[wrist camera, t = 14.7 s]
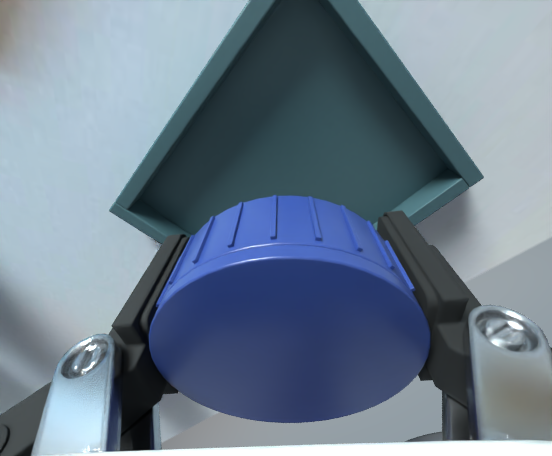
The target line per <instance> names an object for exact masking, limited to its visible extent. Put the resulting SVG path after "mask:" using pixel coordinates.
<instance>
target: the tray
mask: <svg viewBox="0 0 552 456" xmlns="http://www.w3.org/2000/svg"><path fill="white" fill-rule="evenodd" d="M483 178H484V176H483V175H482V173H481V172H480V171H479V169H478V168H477V166H476V165H475V164H474V162H473V161H472V159H471V158H470V157H469V155H468V154H467V152H466V151H465V150H464V148H463V147H462V145H461V144H460V143H459V141H458V140H457V138H456V137H455V136H454V134H453V133H452V132H451V130H450V129H449V127H448V126H447V125H446V123H445V122H444V120H443V119H442V118H441V116H440V115H439V113H438V112H437V111H436V109H435V108H434V106H433V105H432V104H431V102H430V101H429V99H428V98H427V97H426V95H425V94H424V92H423V91H422V90H421V88H420V87H419V85H418V84H417V83H416V81H415V80H414V78H413V77H412V76H411V74H410V73H409V71H408V70H407V69H406V67H405V66H404V64H403V63H402V62H401V60H400V59H399V57H398V56H397V55H396V53H395V52H394V50H393V49H392V48H391V46H390V45H389V43H388V42H387V41H386V39H385V38H384V36H383V35H382V34H381V32H380V31H379V29H378V28H377V27H376V25H375V24H374V22H373V21H372V20H371V18H370V17H369V16H368V14H367V13H366V11H365V10H364V9H363V7H362V6H361V4H360V3H359V2H358V0H249V1H248V3H247V4H246V6H245V7H244V9H243V10H242V12H241V13H240V15H239V16H238V18H237V19H236V21H235V22H234V24H233V25H232V27H231V28H230V30H229V31H228V33H227V34H226V36H225V37H224V39H223V40H222V42H221V43H220V45H219V46H218V48H217V49H216V51H215V52H214V54H213V55H212V57H211V58H210V60H209V61H208V63H207V64H206V66H205V67H204V69H203V70H202V72H201V73H200V75H199V76H198V78H197V79H196V81H195V82H194V84H193V85H192V87H191V88H190V90H189V91H188V93H187V94H186V96H185V97H184V99H183V100H182V102H181V103H180V105H179V106H178V108H177V109H176V111H175V112H174V114H173V115H172V117H171V118H170V120H169V121H168V123H167V124H166V126H165V127H164V129H163V130H162V132H161V133H160V135H159V136H158V138H157V139H156V141H155V142H154V144H153V145H152V147H151V148H150V150H149V151H148V153H147V154H146V156H145V157H144V159H143V160H142V162H141V163H140V165H139V166H138V168H137V169H136V171H135V172H134V174H133V175H132V177H131V178H130V180H129V181H128V183H127V184H126V186H125V187H124V189H123V190H122V192H121V193H120V195H119V196H118V198H117V199H116V201H115V202H114V204H113V205H112V207H111V208H110V210H109V211H110V212H111V213H113V214H115V215H116V216H118V217H119V218H121V219H123V220H124V221H126V222H127V223H129V224H130V225H132V226H134V227H135V228H137V229H138V230H140V231H142V232H143V233H145V234H146V235H148V236H150V237H151V238H153V239H154V240H156V241H157V242H159V243H161V244H163V242H164V241H165V239H166V238H167V236H169V235H177V234H185V235H186V236H187V237H191V235H194V236H195V234H196V233H197V232H198V231H199V230H200V229H201V228H202V227H203V226H204V225H205V224H206V223H208V222H209V220H210V218H211V217H212V216H214V217H215V216H217V215H219V214H220V213H222V212H224V211H225V210H227V209H229V208H232V207H234V206H237V205H238V204H239V203H240V202H243V203H244V202H248V201H252V200H255V199H259V198H266V197H272V196H273V195H277V196H302V197H308V196H312V197H313V198H316V199H320V200H325V201H328V202H331V203H334V204H337V205H340V206H341V205H343V206H345V207H346V209H348V210H350V211H352V212H354V213H356V214H357V215H359V216H360V217H361V218H363V219H364V220H366V221H368V220H369V221H370V222H371V223H372V224H373V226H374V228H375V230H377V224H378V218H379V217H382V216H383V214H384V213H385V212H391V211H400V210H401V211H403V212H404V213H405V214H406V216H407V217H408V218H409V220H410V221H411V222H412V224H413V225H414V226H415V225H416V224H418V223H419V222H421V221H422V220H424V219H425V218H427V217H428V216H430V215H431V214H432V213H434V212H435V211H437V210H438V209H440V208H441V207H443V206H444V205H445V204H447V203H448V202H450V201H451V200H453V199H454V198H456V197H457V196H459V195H460V194H461V193H463V192H464V191H466V190H467V189H469V187H471V186H473V185H474V184H476V183H477V182H478V181H480V180H481V179H483Z"/></svg>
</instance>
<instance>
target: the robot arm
mask: <svg viewBox="0 0 552 456" xmlns="http://www.w3.org/2000/svg"><path fill="white" fill-rule="evenodd" d="M377 232H378V233H379V234H380V236H381V237H382V238H383V240H384V241H387V240H388V242H389V244H390V246H391V247H392V249H393V251H394V253H395V254H396V256H397V258H398V260H399V261H400V263H401V265H402V267H403V268H404V270H405V272H406V274H407V276H408V277H409V279H410V281H411V283H412V284H413V286H414V288H415V291H413V294H414V296H415V298H416V300H417V301H418V303H419V305H420V307H421V309H422V311H423V313H424V315H425V317H426V319H427V321H428V325H429V329H430V350H429V354H428V358H427V360H426V362H425V364H424V366H423V368H422V369H421V371H420V372H419V373H418V376H419V378H420V380H421V381H424V380H433V382H434V384H435V386H436V387H437V388H439V389H440V390H442V441H424V442H388V443H351V444H319V445H318V444H317V445H286V446H257V447H256V446H255V447H226V448H196V449H169V450H162V447H161V431H160V416H159V401H160V400H161V398H162V395H163V394H174V393H178V390H177V389H175V388H174V387H173V386H172V385H171V384H170V383H169V382H168V381H167V380H166V379H165V378H164V377H163V376H162V374H161V373H160V372H159V370H158V369H157V367H156V365H155V363H154V361H153V359H152V356H151V352H150V349H149V332H150V326H151V323H152V320H153V318H154V316H155V313H156V311H157V309H158V307H156V304H157V302H158V300H159V298H160V296H161V294H162V292H163V290H164V288H165V286H166V284H167V282H168V280H169V278H170V276H171V274H172V272H173V270H174V268H175V266H176V264H177V261H178V259H179V257H180V256H181V255H182V253H183V251H184V249H185V247H186V245H187V243H188V241H189V239H190V237H187V236H186V235H185V234H177V235H169V236H167V238H166V239H165V241H164V242H163V244H162V246H161V247H160V249H159V250H158V252H157V254H156V255H155V257H154V258H153V260H152V262H151V263H150V265H149V266H148V268H147V270H146V271H145V273H144V274H143V276H142V278H141V279H140V281H139V283H138V284H137V286H136V287H135V289H134V291H133V292H132V294H131V295H130V297H129V299H128V300H127V302H126V303H125V305H124V307H123V308H122V310H121V311H120V313H119V315H118V316H117V318H116V319H115V321H114V323H113V324H112V327H113V328H112V330H111V332H110V333H109V335H107V334H96V335H93V336H90V337H88V338H86V339H84V340H82V341H80V342H79V343H77V344H76V345H74V346H73V347H72V348H71V349H70V350H69V351H67V352H66V353H65V354H64V356H63V357H62V358H61V360H60V361H59V362H58V365H57V367H56V369H55V372H54V375H53V379H52V381H51V382H50V383H48V384H47V385H45V386H44V387H42V388H41V389H39V390H38V391H36V392H35V393H33V394H32V395H30V396H29V397H27V398H26V399H24V400H23V401H21V402H20V403H18V404H17V405H15V406H14V407H12V408H10V409H9V410H7V411H6V412H4V413H3V414H1V415H0V456H552V348H551V347H550V346H549V343H548V340H547V338H546V336H545V334H544V333H543V331H542V330H541V329H540V328H539V327H538V326H537V325H536V324H535V323H534V322H533V321H532V320H530V319H529V318H527V317H526V316H525V315H523V314H521V313H519V312H516V311H514V310H512V309H509V308H506V307H502V306H496V305H483V306H482V305H481V304H480V303H479V302H478V300H477V299H476V298H475V296H474V295H473V294H472V293H471V291H470V290H469V289H468V288H467V286H466V285H465V284H464V282H463V281H462V280H461V279H460V277H459V276H458V275H457V274H456V272H455V271H454V270H453V268H452V267H451V266H450V265H449V263H448V262H447V261H446V260H445V258H444V257H443V256H442V255H441V253H440V252H439V251H438V249H437V248H436V247H435V246H433V245H428V243H427V242H426V241H425V239H424V238H423V237H422V236H421V234H420V233H419V232H418V230H417V229H416V228H415V226H414V225H413V224H412V222H411V221H410V220H409V218H408V217H407V216H406V214H405V213H404V212H403V211H401V210H400V211H391V212H385V213H384V214H383V216H382V217H379V218H378V224H377Z"/></svg>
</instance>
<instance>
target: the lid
mask: <svg viewBox="0 0 552 456" xmlns="http://www.w3.org/2000/svg"><path fill="white" fill-rule="evenodd" d="M413 291H415V288H414V286H413V284H412V283H411V281H410V279H409V277H408V276H407V274H406V272H405V270H404V268H403V267H402V265H401V263H400V261H399V260H398V258H397V256H396V254H395V253H394V251H393V249H392V247H391V246H390V244H389V242H388V240H387V241H384V240H383V238H382V237H381V236H380V234H379V233H378V232H377V230H375V228H374V226H373V224H372V223H371V222H370V221H369V220H368V221H366V220H364V219H363V218H361V217H360V216H359V215H357V214H356V213H354V212H352V211H350V210H348V209H346V207H345V206H343V205H341V206H340V205H337V204H334V203H331V202H328V201H325V200H320V199H316V198H313V197H312V196H308V197H302V196H277V195H273V196H272V197H266V198H259V199H255V200H252V201H248V202H244V203H243V202H240V203H239V204H238V205H237V206H234V207H232V208H229V209H227V210H225V211H224V212H222V213H220V214H219V215H217V216H215V217H214V216H212V217H211V218H210V220H209V222H208V223H206V224H205V225H204V226H203V227H202V228H201V229H200V230H199V231H198V232H197V233H196V234H195V236H194V235H191V237H190V239H189V241H188V243H187V245H186V247H185V249H184V251H183V253H182V255H181V256H180V257H179V259H178V261H177V264H176V266H175V268H174V270H173V272H172V274H171V276H170V278H169V280H168V282H167V284H166V286H165V288H164V290H163V292H162V294H161V296H160V298H159V300H158V302H157V304H156V307H158V309H157V311H156V313H155V316H154V318H153V320H152V323H151V326H150V332H149V349H150V352H151V356H152V359H153V361H154V363H155V365H156V367H157V369H158V370H159V372H160V373H161V374H162V376H163V377H164V378H165V379H166V380H167V381H168V382H169V383H170V384H171V385H172V386H173V387H174V388H175V389H177V390H178V391H179V392H181V393H182V394H183V395H185V396H187V397H188V398H190V399H191V400H193V401H195V402H197V403H199V404H201V405H203V406H206V407H208V408H211V409H213V410H215V411H219V412H222V413H225V414H228V415H232V416H236V417H240V418H245V419H250V420H257V421H265V422H278V423H301V422H314V421H322V420H329V419H334V418H339V417H343V416H347V415H351V414H354V413H357V412H361V411H363V410H366V409H369V408H371V407H374V406H376V405H378V404H380V403H382V402H384V401H386V400H388V399H389V398H391V397H392V396H394V395H396V394H397V393H399V392H400V391H401V390H403V389H404V388H405V387H406V386H407V385H409V384H410V382H411V381H412V380H413V379H414V378H415V377H416V376H417V375H418V373H419V372H420V371H421V369H422V368H423V366H424V364H425V362H426V360H427V358H428V354H429V350H430V329H429V325H428V321H427V319H426V317H425V315H424V313H423V311H422V309H421V307H420V305H419V303H418V301H417V300H416V298H415V296H414V294H413Z"/></svg>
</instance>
